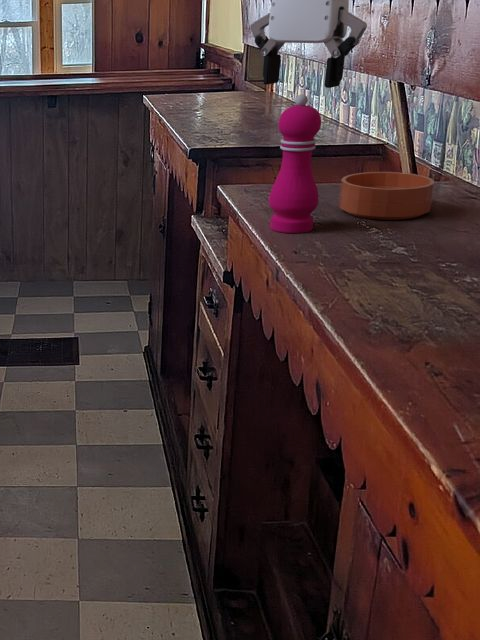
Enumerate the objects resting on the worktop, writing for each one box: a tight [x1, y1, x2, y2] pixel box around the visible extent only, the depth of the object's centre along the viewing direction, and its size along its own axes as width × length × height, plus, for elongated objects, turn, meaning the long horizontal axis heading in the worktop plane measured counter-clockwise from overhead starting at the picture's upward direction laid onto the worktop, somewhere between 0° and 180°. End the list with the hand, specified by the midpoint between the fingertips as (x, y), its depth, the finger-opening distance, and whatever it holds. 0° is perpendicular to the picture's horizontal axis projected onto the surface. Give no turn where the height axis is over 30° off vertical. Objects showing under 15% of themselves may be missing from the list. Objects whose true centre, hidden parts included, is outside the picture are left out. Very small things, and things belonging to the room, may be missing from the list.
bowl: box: [338, 171, 436, 221], centre depth 139 cm, size 14×14×5 cm
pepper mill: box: [268, 93, 322, 234], centre depth 129 cm, size 7×7×20 cm
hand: (300, 85), depth 125 cm, fingers open, 9 cm apart
